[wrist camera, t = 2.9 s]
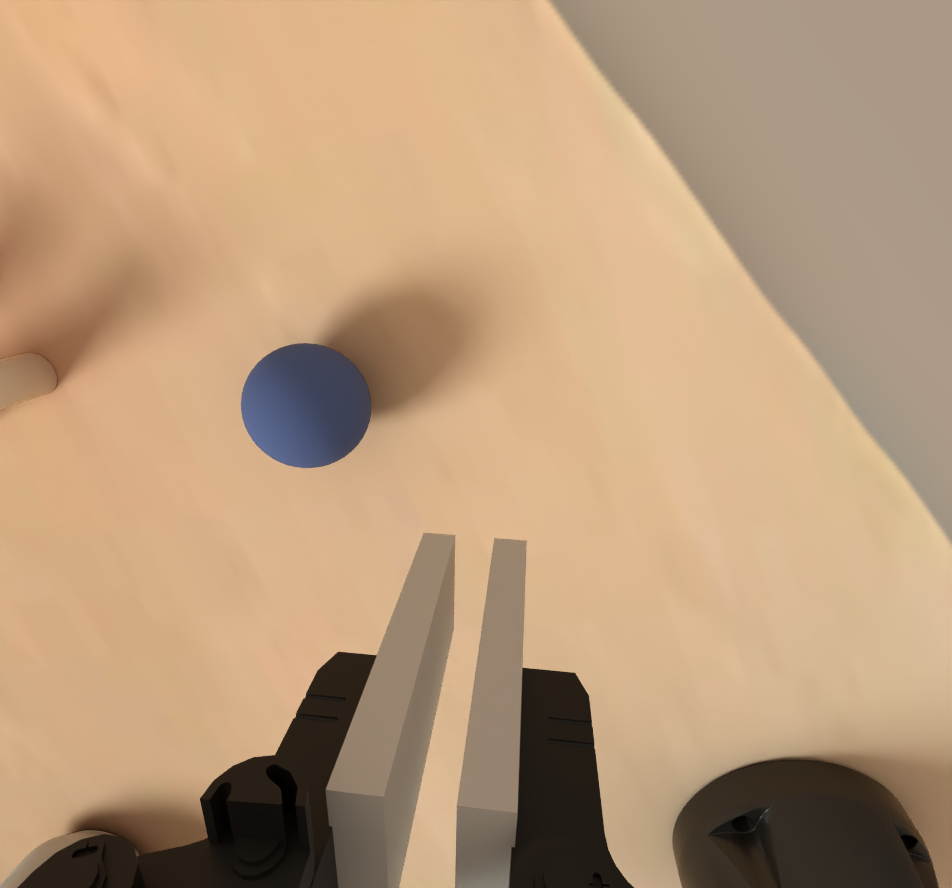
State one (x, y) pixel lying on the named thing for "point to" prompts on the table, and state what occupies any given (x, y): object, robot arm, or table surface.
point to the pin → (25, 378)
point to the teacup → (45, 856)
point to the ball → (306, 405)
